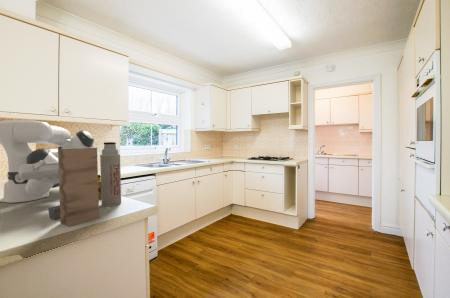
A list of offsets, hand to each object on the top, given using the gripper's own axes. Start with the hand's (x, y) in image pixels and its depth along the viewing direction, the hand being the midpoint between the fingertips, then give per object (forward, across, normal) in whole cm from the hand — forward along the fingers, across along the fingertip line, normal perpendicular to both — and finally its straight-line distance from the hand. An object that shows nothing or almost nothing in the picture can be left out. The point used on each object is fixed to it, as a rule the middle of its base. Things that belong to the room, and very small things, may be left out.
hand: (57, 160), depth 87 cm
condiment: (-18, +17, +14) cm, 29 cm away
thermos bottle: (-6, +18, +21) cm, 28 cm away
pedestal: (+4, 0, +26) cm, 27 cm away
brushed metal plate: (-4, 0, +14) cm, 14 cm away
